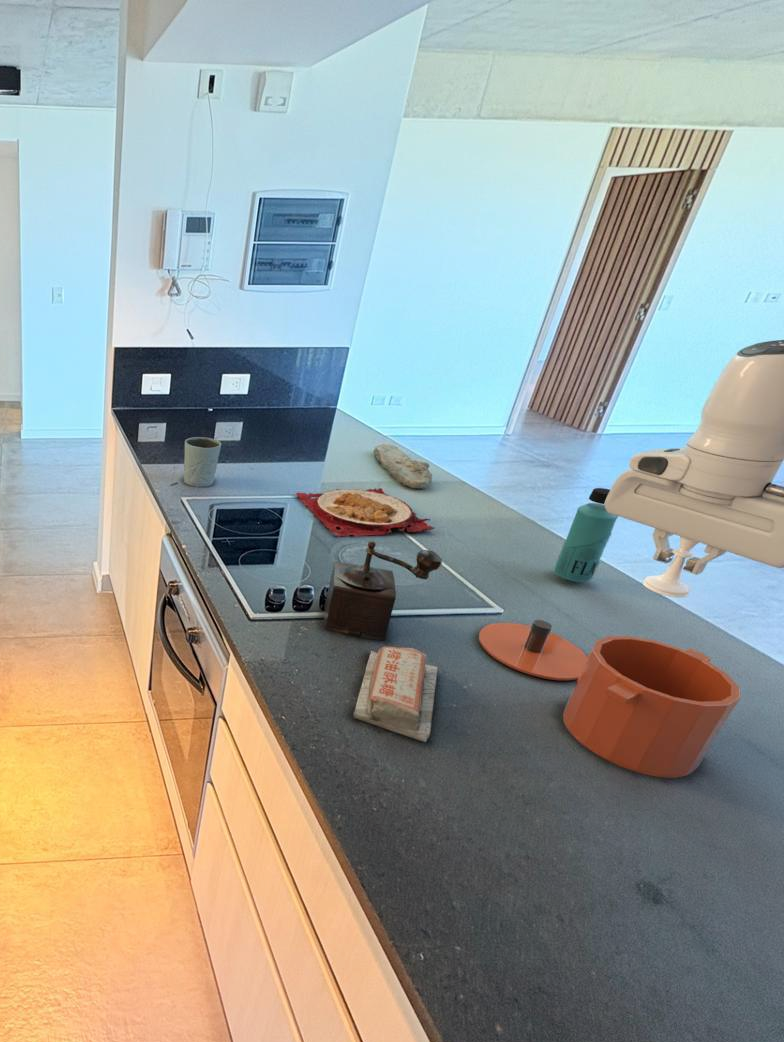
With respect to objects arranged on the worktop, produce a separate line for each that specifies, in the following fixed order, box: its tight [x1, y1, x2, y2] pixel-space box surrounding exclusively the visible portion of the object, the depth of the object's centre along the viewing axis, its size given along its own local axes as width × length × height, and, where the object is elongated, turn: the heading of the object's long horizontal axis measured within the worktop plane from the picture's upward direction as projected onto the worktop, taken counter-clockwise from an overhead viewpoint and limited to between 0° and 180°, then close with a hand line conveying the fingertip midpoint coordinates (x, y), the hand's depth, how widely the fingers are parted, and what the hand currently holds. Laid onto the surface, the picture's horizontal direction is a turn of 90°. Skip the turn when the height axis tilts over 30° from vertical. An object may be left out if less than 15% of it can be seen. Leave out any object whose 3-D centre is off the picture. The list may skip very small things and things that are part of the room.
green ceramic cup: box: [183, 436, 222, 488], centre depth 177 cm, size 10×10×12 cm
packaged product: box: [353, 645, 438, 743], centre depth 95 cm, size 18×5×10 cm
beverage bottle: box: [554, 487, 619, 583], centre depth 122 cm, size 6×7×20 cm
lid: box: [478, 619, 588, 681], centre depth 104 cm, size 16×16×6 cm
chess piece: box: [642, 536, 700, 599], centre depth 84 cm, size 5×5×10 cm
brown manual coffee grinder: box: [323, 540, 443, 641], centre depth 109 cm, size 16×11×18 cm
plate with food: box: [295, 487, 436, 537], centre depth 157 cm, size 24×26×4 cm
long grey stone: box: [372, 443, 433, 489], centre depth 185 cm, size 35×5×10 cm
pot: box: [562, 635, 741, 779], centre depth 85 cm, size 15×20×12 cm
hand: (676, 566), depth 85 cm, fingers closed on chess piece
